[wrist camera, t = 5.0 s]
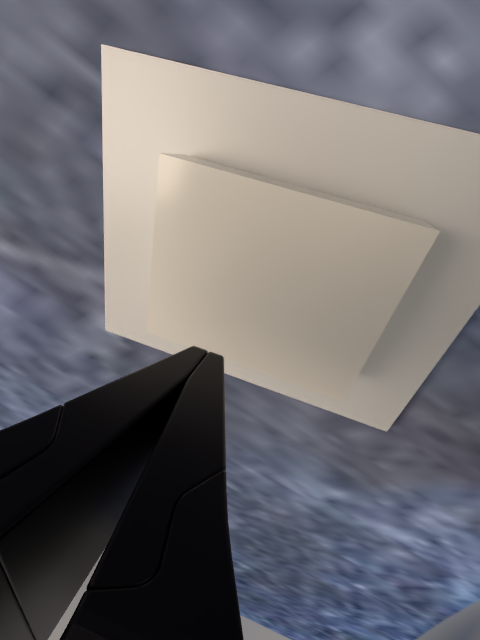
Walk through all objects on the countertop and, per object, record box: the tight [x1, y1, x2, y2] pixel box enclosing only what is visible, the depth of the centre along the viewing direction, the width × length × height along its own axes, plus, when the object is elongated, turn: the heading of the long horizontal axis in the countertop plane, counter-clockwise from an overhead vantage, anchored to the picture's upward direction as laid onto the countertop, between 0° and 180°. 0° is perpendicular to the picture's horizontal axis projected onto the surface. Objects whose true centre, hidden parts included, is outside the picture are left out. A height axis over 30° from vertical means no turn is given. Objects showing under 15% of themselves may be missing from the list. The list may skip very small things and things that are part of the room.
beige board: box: [101, 44, 480, 432], centre depth 15 cm, size 18×14×1 cm
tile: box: [147, 153, 440, 402], centre depth 13 cm, size 2×8×10 cm
